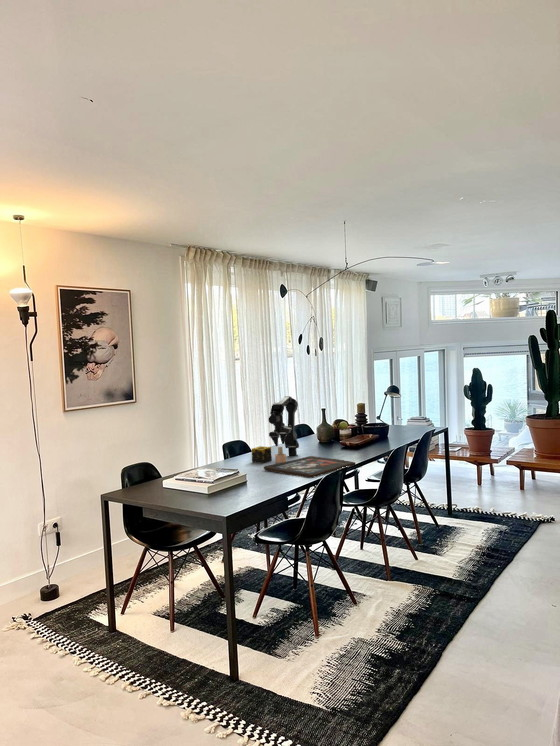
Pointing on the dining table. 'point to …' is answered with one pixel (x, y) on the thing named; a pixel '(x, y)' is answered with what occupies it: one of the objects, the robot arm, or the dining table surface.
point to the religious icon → (309, 466)
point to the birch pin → (280, 451)
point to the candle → (261, 454)
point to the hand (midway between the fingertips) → (280, 445)
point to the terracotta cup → (280, 458)
